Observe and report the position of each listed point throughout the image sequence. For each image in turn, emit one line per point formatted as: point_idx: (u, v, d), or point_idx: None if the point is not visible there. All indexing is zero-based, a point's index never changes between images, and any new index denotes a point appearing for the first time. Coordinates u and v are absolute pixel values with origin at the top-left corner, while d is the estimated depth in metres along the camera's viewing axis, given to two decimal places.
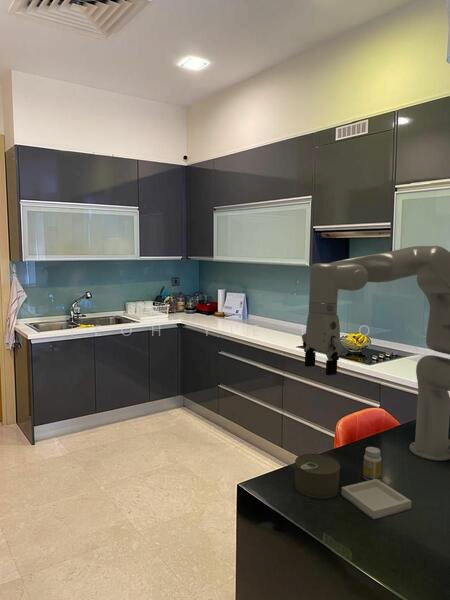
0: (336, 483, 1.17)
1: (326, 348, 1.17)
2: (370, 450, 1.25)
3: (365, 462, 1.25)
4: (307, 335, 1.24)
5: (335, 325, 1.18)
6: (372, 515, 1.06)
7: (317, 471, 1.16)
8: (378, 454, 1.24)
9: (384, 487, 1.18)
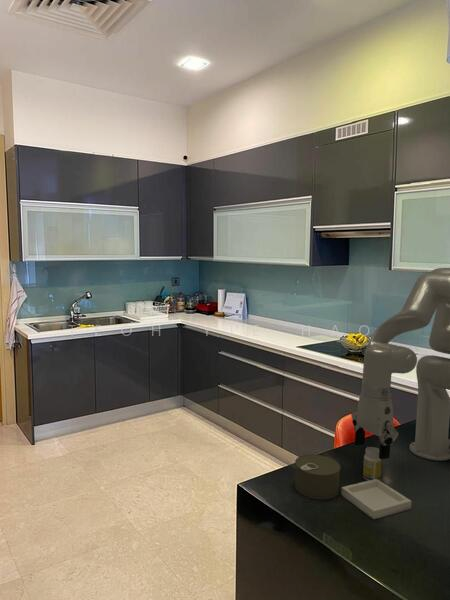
0: (336, 484, 1.16)
1: (380, 433, 1.20)
2: (370, 450, 1.25)
3: (365, 462, 1.25)
4: (359, 415, 1.27)
5: (389, 410, 1.21)
6: (372, 515, 1.06)
7: (317, 472, 1.16)
8: (378, 454, 1.24)
9: (384, 487, 1.18)
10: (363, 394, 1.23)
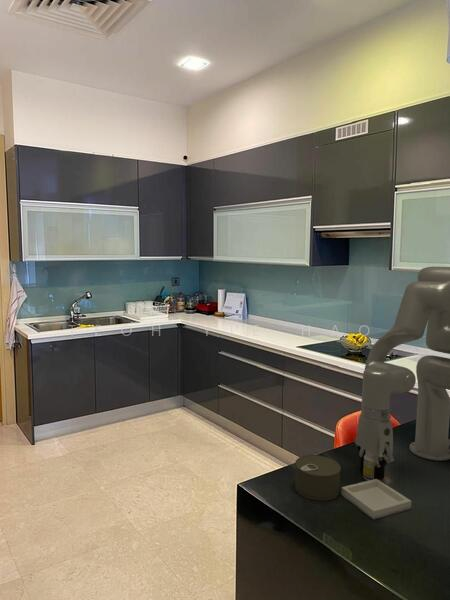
0: (336, 485, 1.16)
1: (380, 454, 1.21)
2: None
3: (365, 462, 1.25)
4: (359, 435, 1.28)
5: (388, 431, 1.21)
6: (372, 515, 1.06)
7: (317, 473, 1.15)
8: None
9: (384, 487, 1.18)
10: (363, 415, 1.24)
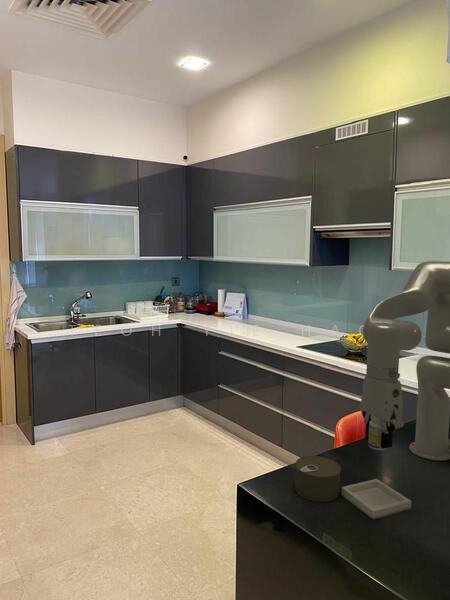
0: (337, 486, 1.15)
1: (388, 418, 1.07)
2: None
3: (371, 428, 1.11)
4: (363, 400, 1.14)
5: (397, 392, 1.08)
6: (372, 515, 1.06)
7: (317, 474, 1.15)
8: None
9: (384, 487, 1.18)
10: (368, 376, 1.10)
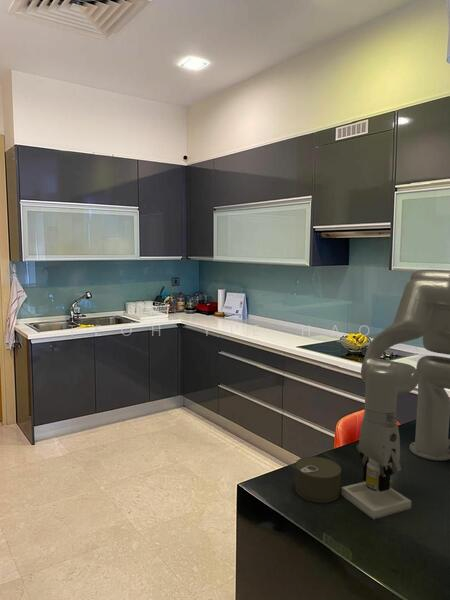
0: (337, 487, 1.15)
1: (386, 462, 1.08)
2: None
3: (368, 471, 1.12)
4: (361, 441, 1.15)
5: (395, 436, 1.09)
6: (372, 515, 1.06)
7: (317, 475, 1.14)
8: None
9: None
10: (366, 419, 1.11)
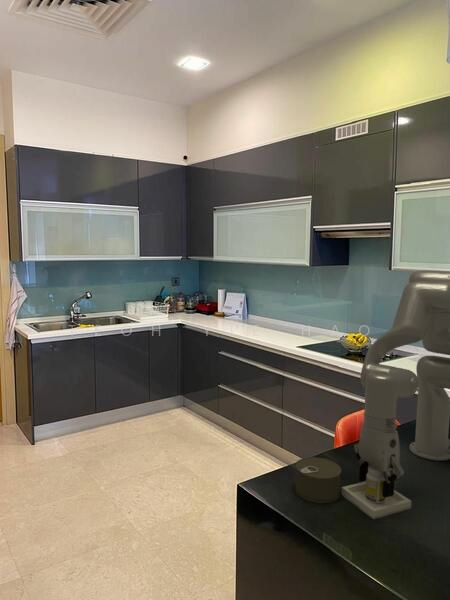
0: (337, 488, 1.15)
1: (385, 468, 1.08)
2: (373, 468, 1.13)
3: (368, 481, 1.13)
4: (361, 447, 1.15)
5: (394, 442, 1.09)
6: (372, 515, 1.06)
7: (317, 475, 1.14)
8: (382, 473, 1.12)
9: None
10: (365, 424, 1.11)
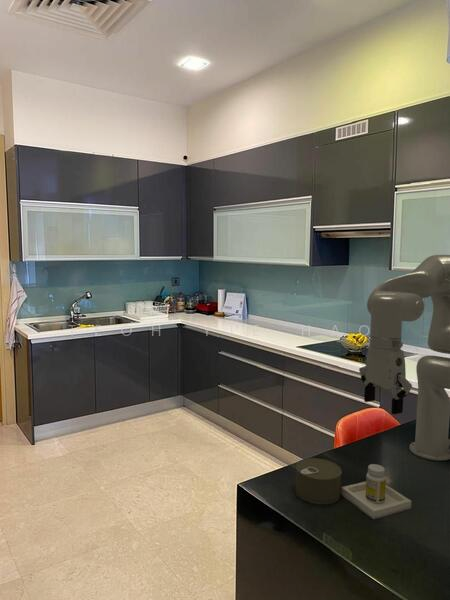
0: (337, 489, 1.14)
1: (392, 386, 1.11)
2: (373, 468, 1.13)
3: (368, 481, 1.13)
4: (368, 370, 1.18)
5: (401, 361, 1.11)
6: (372, 515, 1.06)
7: (317, 476, 1.13)
8: (382, 473, 1.12)
9: None
10: (372, 346, 1.14)
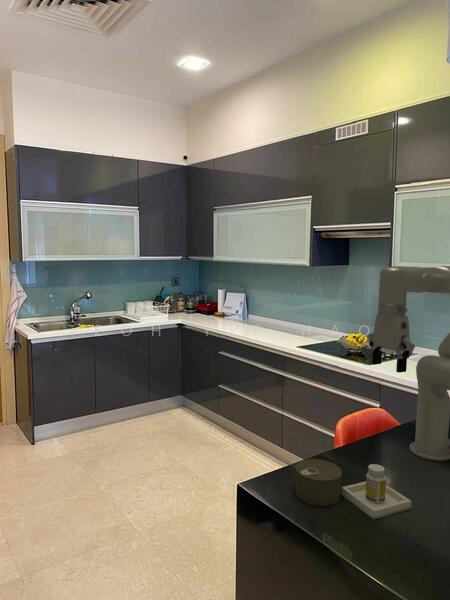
0: (337, 490, 1.13)
1: (397, 347, 1.25)
2: (373, 468, 1.13)
3: (368, 481, 1.13)
4: (375, 335, 1.32)
5: (405, 325, 1.26)
6: (372, 515, 1.06)
7: (317, 477, 1.13)
8: (382, 473, 1.12)
9: None
10: (380, 312, 1.28)
